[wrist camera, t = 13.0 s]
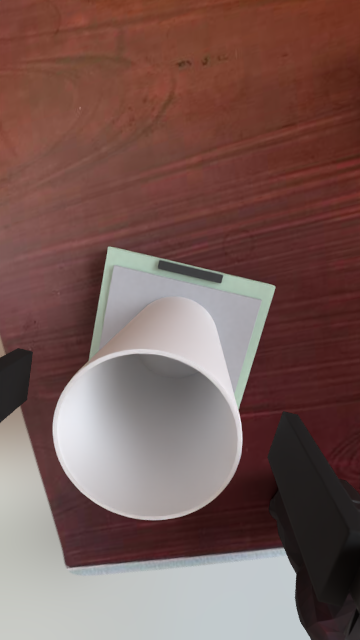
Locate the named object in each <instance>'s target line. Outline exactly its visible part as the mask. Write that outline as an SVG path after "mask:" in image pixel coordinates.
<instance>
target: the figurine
mask: <svg viewBox="0 0 360 640" xmlns="http://www.w3.org/2000/svg"><path fill="white" fill-rule="evenodd" d="M269 512H270V514H271V516H272V517H273V518H274V519H276V520H277V526H278V534H279V537H280V539H281V541H282V544H283V546H284V549H285V551H286V554H287V556H288V559H289V561H290V563H291V565H292V567H293V568H294V570H295V572H296V574H297V575H296V590H295V591H296V592H295V599H296V607H297V611H298V615H299V619H300V622H301V624H302V625H303V627H304V628H305V630H306V631H307V633H308V635H309V636H310V638H311V640H345V637H346V636H345V635H344V634H343V633H344V631H345V629H346V627H347V625H348V623H349V621H350V619H351V617H352V614H353V612H354V610H355V608H356V605H355V603H354V601H353V599H352V597H351V594H350V592H349V594H348V596H347V598H346V600H345V602H344V604H343V606H342V607H340V606H336V605H332V604H328V603H324V602H319V601H318V599H317V597H316V594H315V591H314V588H313V585H312V582H311V580H310V577H309V574H308V571H307V568H306V565H305V562H304V560H303V557H302V554H301V551H300V548H299V545H298V543H297V540H296V537H295V534H294V531H293V528H292V525H291V523H290V520H289V517H288V514H287V511H286V508H285V506H284V503H283V500H282V497H281V494H280V491H279V490H278V491H277V493H276V494H275V496H274V498H273V499H272V500H271V501H270V506H269Z"/></svg>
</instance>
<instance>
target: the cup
mask: <svg viewBox="0 0 360 640" xmlns="http://www.w3.org/2000/svg"><path fill="white" fill-rule="evenodd" d="M53 440H54V445H55V450H56V453H57V456H58V459H59V461H60V463H61V466H62V467H63V469H64V471H65V473H66V474H67V476H68V477H69V479H70V480H71V481H72V482H73V484H74V485H75V486H76V487H77V488H78V489H79V490H80V491H81V492H82V493H83V494H84V495H85V496H87V497H88V498H89V499H90V500H92V501H93V502H95V503H96V504H98V505H100V506H101V507H103V508H105V509H107V510H109V511H111V512H114V513H117V514H119V515H123V516H126V517H130V518H135V519H142V520H165V519H172V518H176V517H181V516H184V515H187V514H189V513H192V512H194V511H196V510H198V509H200V508H202V507H204V506H205V505H207V504H208V503H210V502H211V501H212V500H214V499H215V498H216V497H217V496H218V495H219V494H220V493H221V492H222V491H223V490H224V489H225V487H226V486H227V485H228V483H229V482H230V480H231V479H232V477H233V475H234V473H235V471H236V469H237V466H238V464H239V460H240V456H241V450H242V427H241V420H240V415H239V411H238V407H237V404H236V400H235V396H234V392H233V388H232V385H231V381H230V377H229V373H228V370H227V366H226V362H225V359H224V355H223V351H222V347H221V344H220V340H219V336H218V332H217V329H216V325H215V323H214V321H213V319H212V317H211V316H210V314H209V313H208V312H207V310H206V309H205V308H203V307H202V306H201V305H200V304H198V303H197V302H195V301H193V300H190V299H188V298H184V297H177V296H171V297H164V298H161V299H158V300H155V301H154V302H152V303H150V304H149V305H147V306H146V307H145V308H144V309H143V310H142V311H141V312H140V313H139V314H138V315H137V316H135V317H134V318H133V319H132V320H131V321H130V322H129V323H128V324H127V325H126V326H125V327H124V328H123V329H122V330H121V331H120V332H119V333H117V334H116V335H115V336H114V337H113V338H112V339H111V340H110V341H109V342H108V343H107V344H106V345H105V346H104V347H103V348H102V349H101V350H100V351H98V352H97V353H96V354H95V355H94V356H93V357H92V358H91V359H90V360H89V361H88V362H87V363H86V364H85V365H84V366H83V367H82V368H81V369H80V370H79V371H78V372H77V373H76V374H75V375H74V376H73V377H72V379H71V380H70V381H69V383H68V384H67V386H66V387H65V389H64V390H63V392H62V394H61V396H60V398H59V400H58V403H57V406H56V409H55V413H54V418H53Z"/></svg>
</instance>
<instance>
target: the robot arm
mask: <svg viewBox="0 0 360 640" xmlns="http://www.w3.org/2000/svg"><path fill="white" fill-rule="evenodd" d="M32 354H33V352H32V351H28V350H23V349H19V348H18V349H16V350H14V351H12V352H10V353H8V354H6V355H4V356H3V357H1V358H0V422H1V421H3V420H4V419H5V418H6V417H7V416H8V415H10V414H11V413H12V412H13V411H14V410H15V409H16V408H18V407H19V406H20V405H21V404H22V403H24V402H25V401H26V400H27V395H28V387H29V378H30V370H31V362H32ZM268 460H269V463H270V466H271V469H272V471H273V474H274V477H275V480H276V483H277V486H278V489H279V491H280V494H281V497H282V500H283V503H284V506H285V508H286V511H287V514H288V517H289V520H290V523H291V525H292V528H293V531H294V534H295V537H296V540H297V543H298V545H299V548H300V551H301V554H302V557H303V560H304V562H305V565H306V568H307V571H308V574H309V577H310V580H311V582H312V585H313V588H314V591H315V594H316V597H317V599H318V601H319V602H324V603H328V604H332V605H336V606H340V607H342V606H343V604H344V602H345V600H346V598H347V596H348V594H349V592H350V594H351V597H352V599H353V601H354V603H355V605H356V608H355V610H354V612H353V614H352V617H351V619H350V621H349V623H348V625H347V627H346V629H345V631H344V633H343V634H344V635H345V636H346V637H345V640H360V495H359V493H358V492H357V491H356V490H355V489H354V488H353V487H352V486H351V485H350V484H349V483H348V482H347V481H346V480H341V479H338V477H337V476H336V474H335V473H334V471H333V469H332V468H331V466H330V465H329V463H328V462H327V460H326V458H325V457H324V455H323V454H322V452H321V451H320V449H319V447H318V446H317V444H316V443H315V441H314V440H313V438H312V436H311V435H310V433H309V432H308V430H307V428H306V427H305V425H304V424H303V422H302V421H301V419H300V417H299V416H298V415H296V414H292V413H288V412H284V411H283V413H282V416H281V419H280V422H279V425H278V428H277V431H276V434H275V437H274V439H273V442H272V445H271V448H270V451H269V454H268Z"/></svg>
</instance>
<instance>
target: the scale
mask: <svg viewBox="0 0 360 640" xmlns="http://www.w3.org/2000/svg"><path fill="white" fill-rule="evenodd" d="M274 290H275V286H274V285H271V284H268V283H263V282H259V281H255V280H251V279H246V278H242V277H238V276H234V275H230V274H225V273H221V272H217V271H213V270H209V269H204V268H200V267H196V266H192V265H187V264H183V263H179V262H175V261H171V260H166V259H162V258H158V257H154V256H150V255H145V254H141V253H137V252H133V251H128V250H124V249H120V248H116V247H108V251H107V256H106V262H105V268H104V274H103V280H102V286H101V291H100V297H99V303H98V309H97V315H96V320H95V326H94V332H93V338H92V344H91V350H90V355H89V360H90V359H91V358H92V357H93V356H94V355H95V354H96V353H97V352H98V351H100V350H101V349H102V348H103V347H104V346H105V345H106V344H107V343H108V342H109V341H110V340H111V339H112V338H113V337H114V336H115V335H116V334H117V333H119V332H120V331H121V330H122V329H123V328H124V327H125V326H126V325H127V324H128V323H129V322H130V321H131V320H132V319H133V318H134V317H135V316H137V315H138V314H139V313H140V312H141V311H142V310H143V309H144V308H145V307H146V306H147V305H149V304H150V303H152V302H154V301H155V300H158V299H161V298H164V297H171V296H177V297H184V298H188V299H190V300H193V301H195V302H197V303H198V304H200V305H201V306H202V307H203V308H205V309H206V310H207V312H208V313H209V314H210V316H211V317H212V319H213V321H214V323H215V325H216V329H217V332H218V336H219V340H220V344H221V347H222V351H223V355H224V359H225V362H226V366H227V370H228V373H229V377H230V381H231V385H232V388H233V392H234V396H235V400H236V404H237V407H238V409H239V406H240V403H241V399H242V396H243V393H244V389H245V386H246V383H247V379H248V376H249V373H250V370H251V366H252V363H253V360H254V356H255V353H256V350H257V346H258V343H259V340H260V337H261V333H262V330H263V327H264V323H265V320H266V317H267V313H268V310H269V307H270V304H271V300H272V297H273V294H274Z"/></svg>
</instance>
